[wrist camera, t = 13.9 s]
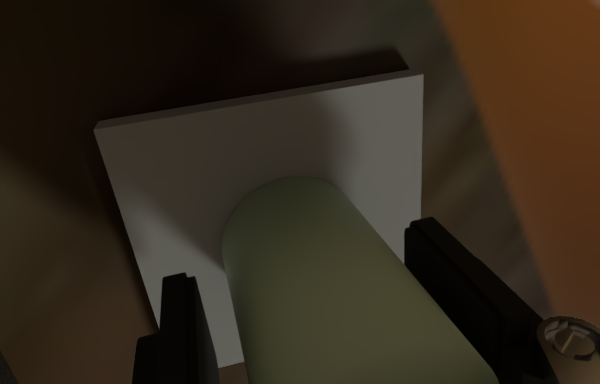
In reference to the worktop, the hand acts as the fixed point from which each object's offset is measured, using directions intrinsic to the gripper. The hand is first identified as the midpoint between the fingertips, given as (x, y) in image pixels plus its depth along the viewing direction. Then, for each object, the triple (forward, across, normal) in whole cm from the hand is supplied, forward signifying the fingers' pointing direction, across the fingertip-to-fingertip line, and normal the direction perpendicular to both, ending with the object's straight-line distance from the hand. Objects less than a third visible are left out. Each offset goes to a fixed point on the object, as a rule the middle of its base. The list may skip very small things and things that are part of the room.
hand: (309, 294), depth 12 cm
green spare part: (+3, 0, 0) cm, 3 cm away
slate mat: (+3, 0, 0) cm, 3 cm away
